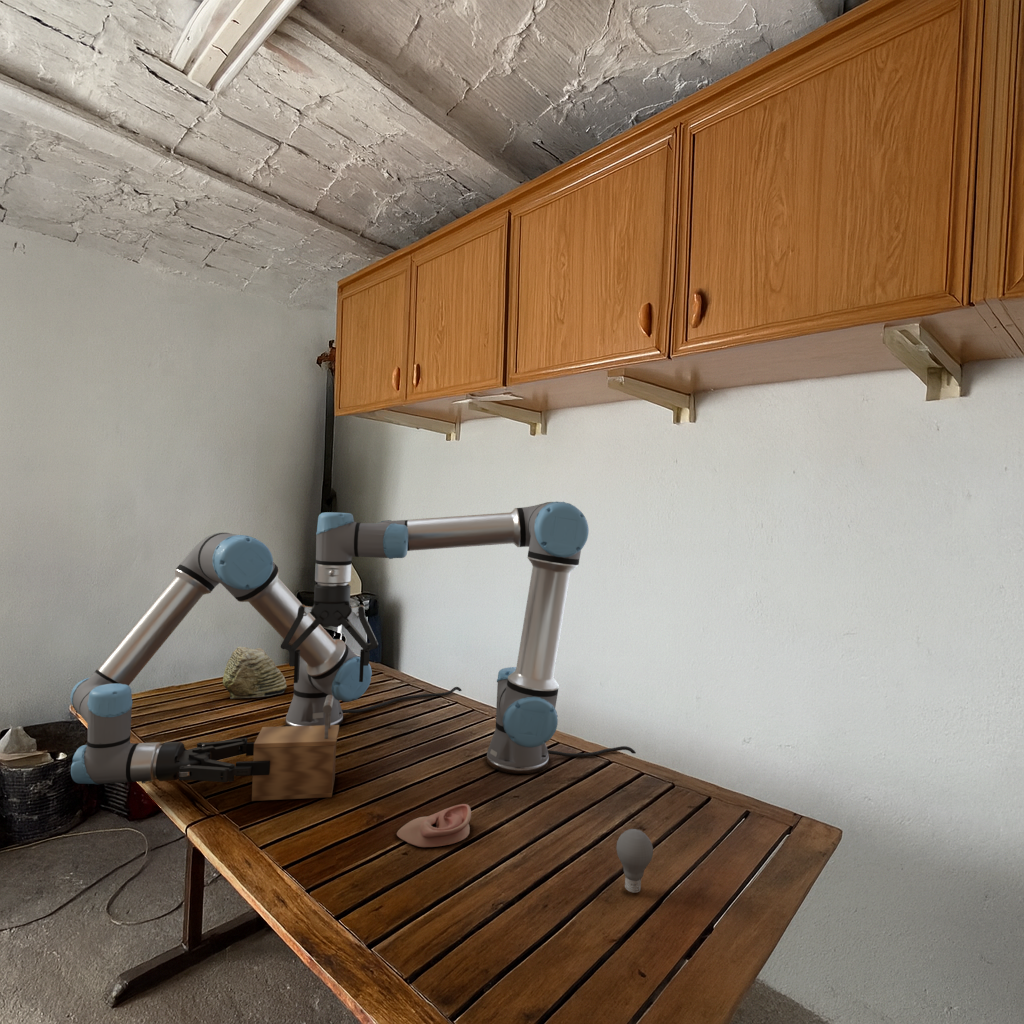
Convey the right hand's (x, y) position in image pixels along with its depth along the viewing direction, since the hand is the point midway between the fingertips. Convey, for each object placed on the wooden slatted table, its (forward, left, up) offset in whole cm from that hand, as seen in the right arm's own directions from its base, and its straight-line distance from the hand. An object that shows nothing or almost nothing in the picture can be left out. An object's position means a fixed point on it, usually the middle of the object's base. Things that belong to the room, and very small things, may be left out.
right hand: (329, 680), depth 138 cm
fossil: (+15, -70, -23) cm, 76 cm away
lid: (+6, -1, -12) cm, 14 cm away
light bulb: (-45, +53, -23) cm, 73 cm away
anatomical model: (-18, +26, -23) cm, 39 cm away
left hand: (+11, -2, -16) cm, 20 cm away
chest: (+6, -1, -23) cm, 24 cm away
